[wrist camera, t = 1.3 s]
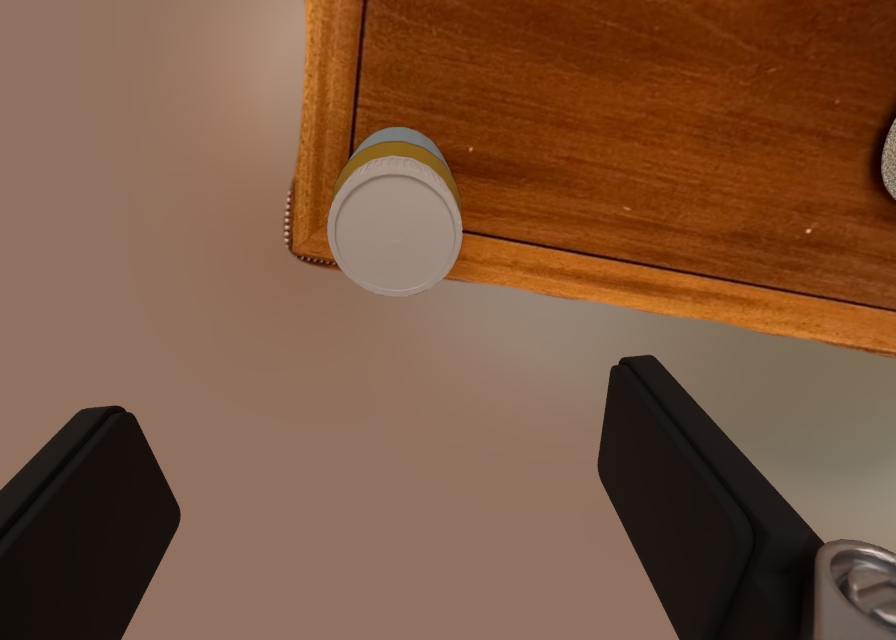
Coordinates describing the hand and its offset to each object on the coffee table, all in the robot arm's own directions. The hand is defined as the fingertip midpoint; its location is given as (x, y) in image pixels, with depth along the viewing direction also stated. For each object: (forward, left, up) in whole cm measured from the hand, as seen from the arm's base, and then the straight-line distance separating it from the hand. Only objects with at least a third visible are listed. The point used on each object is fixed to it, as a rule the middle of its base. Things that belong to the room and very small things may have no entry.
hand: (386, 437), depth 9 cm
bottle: (0, 0, -28) cm, 28 cm away
